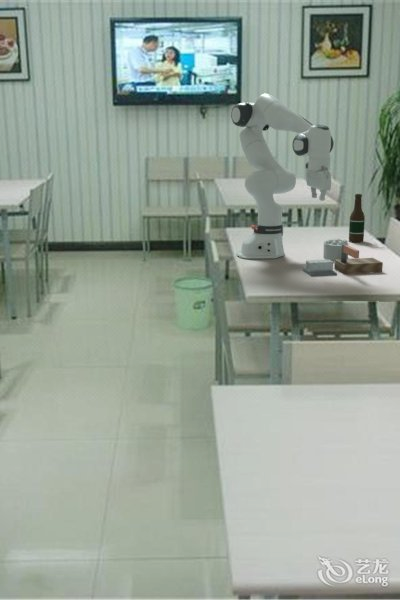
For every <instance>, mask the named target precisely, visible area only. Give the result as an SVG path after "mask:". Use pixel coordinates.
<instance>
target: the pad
mask: <svg viewBox="0 0 400 600" xmlns="http://www.w3.org/2000/svg"><path fill="white" fill-rule="evenodd" d="M302 271H303V272H304V273H305V274H307V275H309V276H310V277H319V276H320V277H321V276H323V277H325V276H337V274H338V273H337V272H336V270H333V271H330V272H308V271H307V270H306V267H303V268H302Z"/></svg>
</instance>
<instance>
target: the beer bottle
mask: <svg viewBox="0 0 400 600" xmlns="http://www.w3.org/2000/svg"><path fill="white" fill-rule="evenodd" d="M354 197H355V198H354V207H353V210H352V212H351V214H350V216H349V225H348V226H349V227H348V228H349V229H348V242H350V243H354V244H355V243H357V244H358V243H363V242H364V239H365V237H364V236H365V222H366V221H365V212H364V211H363V210H362V197H363V195H362V193H356V194H355V195H354Z"/></svg>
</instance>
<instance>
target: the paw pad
mask: <svg viewBox="0 0 400 600" xmlns="http://www.w3.org/2000/svg"><path fill="white" fill-rule="evenodd" d="M342 244H347V245H348V246H349V243H348V241H347V240H346V239H343V240H342V239H341V238H329V239H326V240H325V241H323V260H326V259H329V260H331V261H333V263H335V260H338V259H341V246H342ZM348 257H349V255H348V254H347V259H349V258H348Z"/></svg>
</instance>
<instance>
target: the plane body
mask: <svg viewBox="0 0 400 600" xmlns="http://www.w3.org/2000/svg"><path fill="white" fill-rule="evenodd" d="M383 263H384V262H383V261H381V260H379V259H376V258H374V257H359V258H348V259H347V262H341V259H338V260H335V262H334V265H333V270H334V271H337V272H339V273H340V274H343V275H352V274H353V273H356V274H370V272H374V273H382V272H383V267H384V266H383V265H384V264H383ZM353 275H354V274H353Z"/></svg>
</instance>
